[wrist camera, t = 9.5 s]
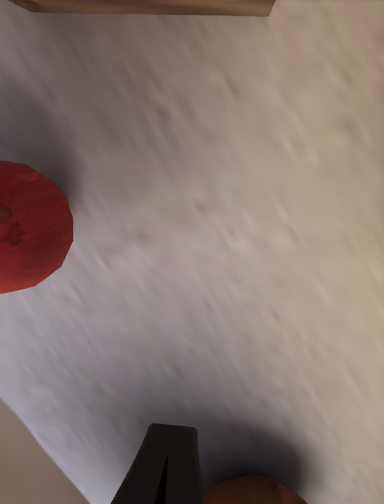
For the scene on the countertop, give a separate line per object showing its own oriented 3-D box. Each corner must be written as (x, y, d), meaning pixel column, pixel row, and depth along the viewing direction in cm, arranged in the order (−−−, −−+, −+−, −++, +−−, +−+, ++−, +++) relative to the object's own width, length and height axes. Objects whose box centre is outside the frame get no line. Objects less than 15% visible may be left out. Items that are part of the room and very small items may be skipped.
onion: (-12, 145, 18) (-182, 170, 10) (96, 159, 17) (-1, 195, 10) (1, 247, 20) (-130, 326, 13) (96, 260, 20) (18, 350, 12)
